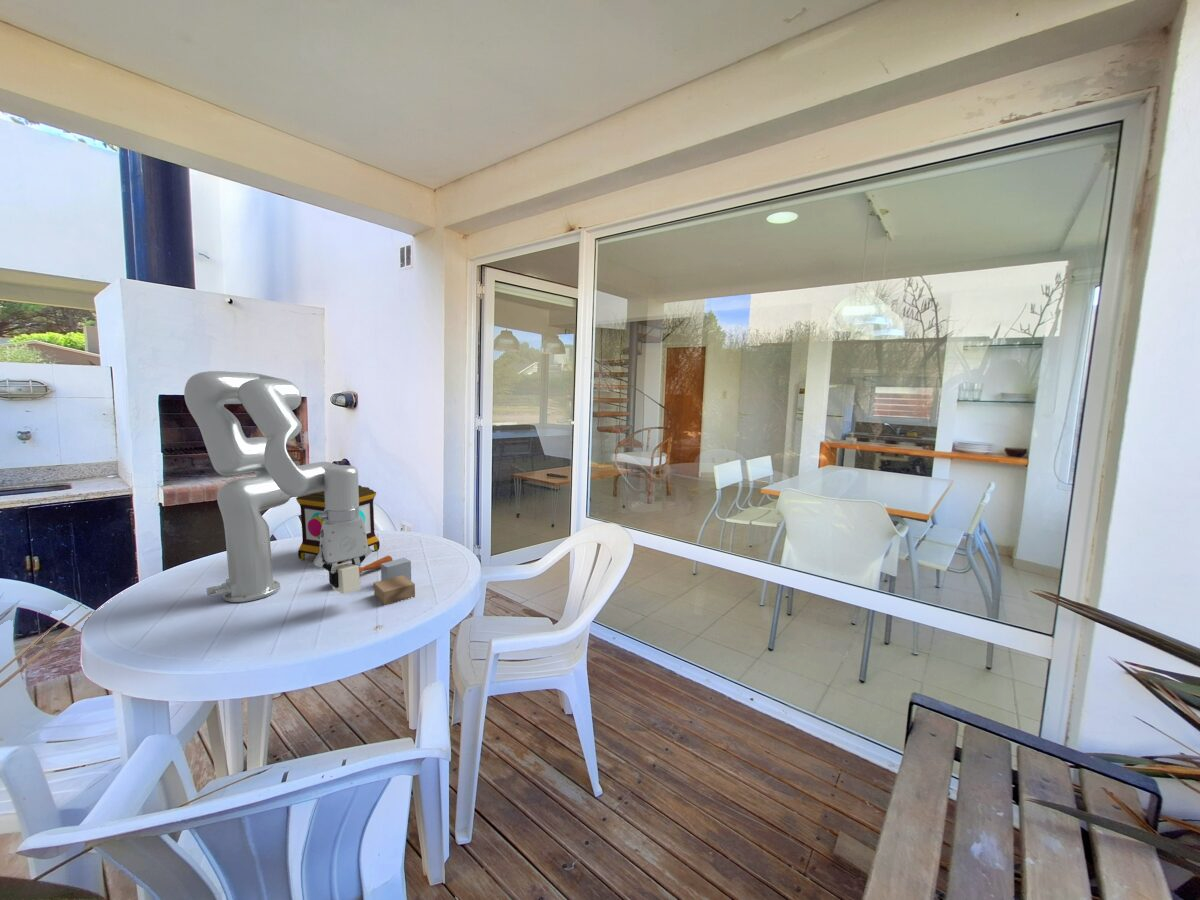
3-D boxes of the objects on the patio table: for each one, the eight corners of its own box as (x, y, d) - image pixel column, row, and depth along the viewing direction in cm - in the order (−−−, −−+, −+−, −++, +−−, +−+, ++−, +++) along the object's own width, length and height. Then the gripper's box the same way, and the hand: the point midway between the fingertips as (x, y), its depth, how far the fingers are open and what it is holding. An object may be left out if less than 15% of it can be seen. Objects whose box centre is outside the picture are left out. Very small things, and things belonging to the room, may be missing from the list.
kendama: (397, 554, 149) (342, 572, 131) (394, 572, 150) (339, 592, 131) (383, 549, 152) (327, 565, 133) (380, 566, 152) (324, 584, 134)
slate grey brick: (387, 587, 134) (387, 567, 133) (381, 583, 137) (380, 563, 136) (411, 580, 140) (410, 560, 139) (404, 576, 142) (404, 557, 141)
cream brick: (360, 589, 120) (358, 566, 120) (343, 594, 117) (341, 570, 117) (349, 584, 125) (347, 562, 124) (332, 589, 122) (330, 566, 121)
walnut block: (384, 606, 123) (384, 592, 123) (374, 596, 129) (373, 582, 128) (415, 598, 128) (414, 583, 128) (404, 588, 134) (403, 575, 134)
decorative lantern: (342, 542, 172) (338, 461, 168) (386, 549, 165) (383, 465, 162) (291, 561, 153) (285, 469, 149) (338, 569, 147) (333, 474, 143)
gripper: (311, 524, 110) (314, 598, 113) (382, 511, 123) (383, 578, 125) (299, 517, 115) (302, 588, 118) (369, 506, 128) (370, 570, 130)
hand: (344, 582), depth 122 cm, fingers closed on cream brick, 3 cm apart
